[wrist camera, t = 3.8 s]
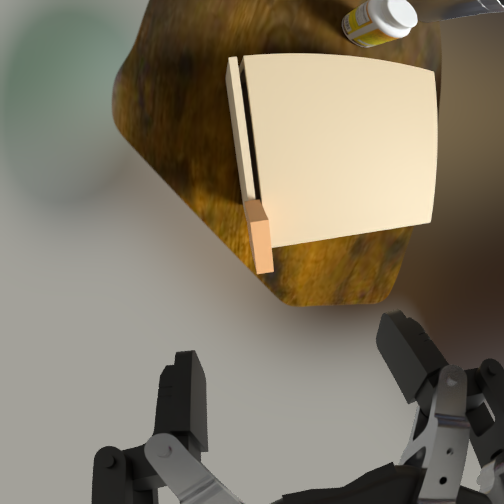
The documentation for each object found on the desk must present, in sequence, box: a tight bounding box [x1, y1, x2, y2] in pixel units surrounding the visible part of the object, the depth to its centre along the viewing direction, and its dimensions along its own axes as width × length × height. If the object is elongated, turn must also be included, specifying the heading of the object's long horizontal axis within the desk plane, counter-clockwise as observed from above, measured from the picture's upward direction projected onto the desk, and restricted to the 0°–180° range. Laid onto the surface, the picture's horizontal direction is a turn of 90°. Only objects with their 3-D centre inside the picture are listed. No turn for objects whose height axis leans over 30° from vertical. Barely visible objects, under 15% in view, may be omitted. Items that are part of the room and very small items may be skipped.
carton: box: [239, 53, 437, 248], centre depth 25 cm, size 18×16×12 cm
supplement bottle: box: [342, 0, 417, 47], centre depth 19 cm, size 6×6×10 cm
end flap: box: [225, 57, 274, 274], centre depth 23 cm, size 1×16×16 cm, turn 7°
